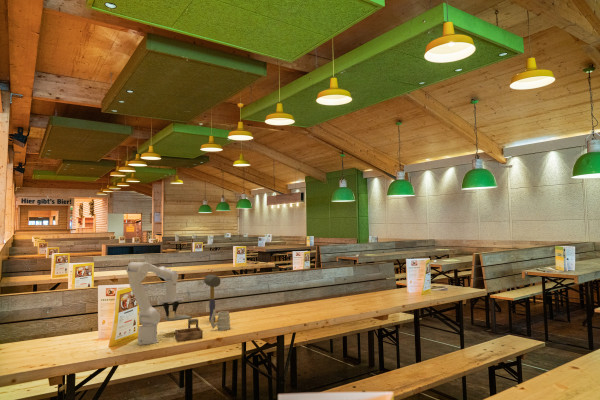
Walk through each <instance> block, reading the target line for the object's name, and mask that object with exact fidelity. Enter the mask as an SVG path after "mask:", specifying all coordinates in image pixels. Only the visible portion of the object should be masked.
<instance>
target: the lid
mask: <svg viewBox="0 0 600 400" xmlns="http://www.w3.org/2000/svg"><path fill="white" fill-rule="evenodd" d="M162 319H163V320H165V321H168V322H175V321H183V320H184V321H185V320H188V319H193V317H192V316H191V315H188V314H177V315H176V313H175V311H173V310H169V317H167V316H163V318H162Z"/></svg>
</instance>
